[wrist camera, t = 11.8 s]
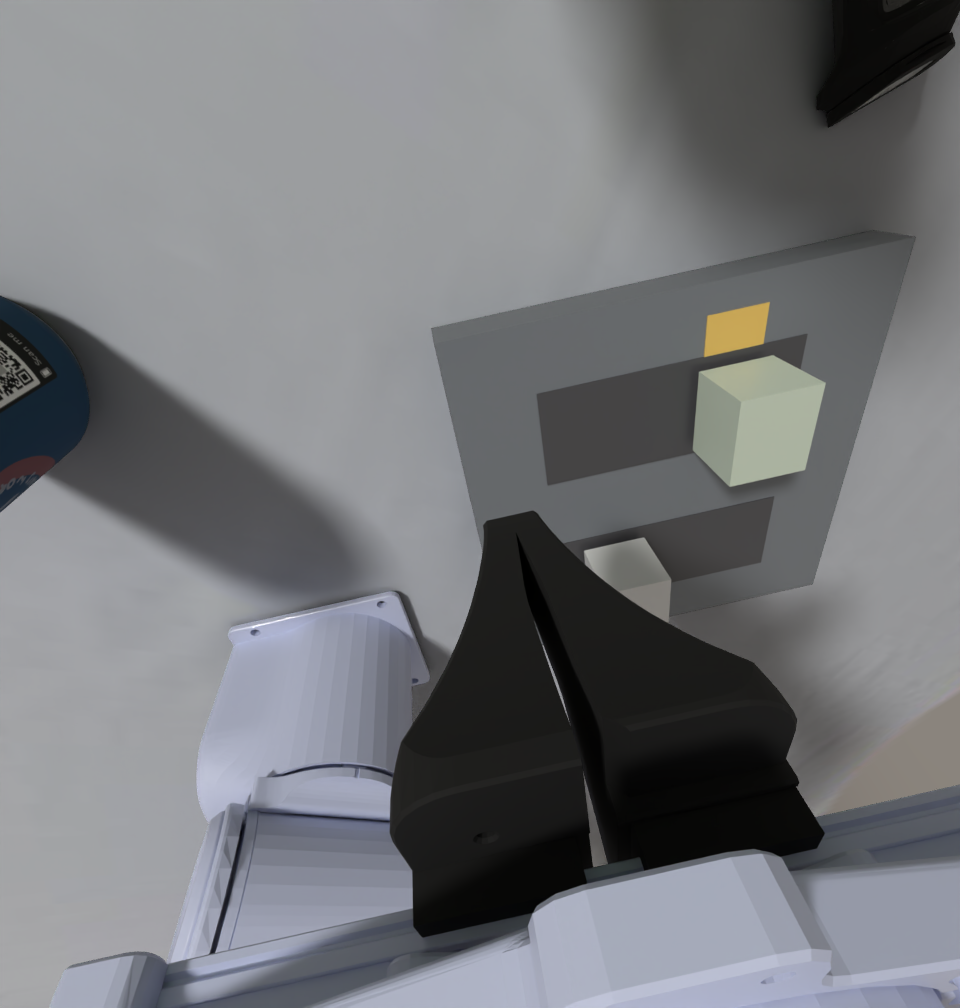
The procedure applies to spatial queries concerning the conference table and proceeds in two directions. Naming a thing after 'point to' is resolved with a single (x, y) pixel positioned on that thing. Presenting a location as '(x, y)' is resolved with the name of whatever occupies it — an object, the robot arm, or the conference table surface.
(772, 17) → the conference table surface
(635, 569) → the light grey block
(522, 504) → the switch panel
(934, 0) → the electric trimmer
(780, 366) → the tab sage
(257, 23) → the conference table surface
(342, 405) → the conference table surface
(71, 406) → the soda can
